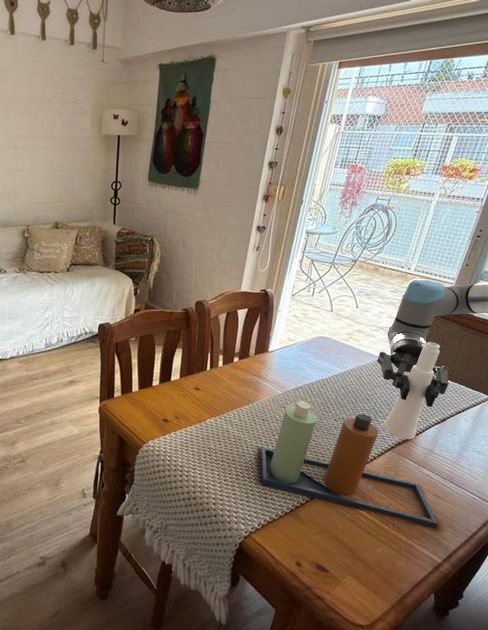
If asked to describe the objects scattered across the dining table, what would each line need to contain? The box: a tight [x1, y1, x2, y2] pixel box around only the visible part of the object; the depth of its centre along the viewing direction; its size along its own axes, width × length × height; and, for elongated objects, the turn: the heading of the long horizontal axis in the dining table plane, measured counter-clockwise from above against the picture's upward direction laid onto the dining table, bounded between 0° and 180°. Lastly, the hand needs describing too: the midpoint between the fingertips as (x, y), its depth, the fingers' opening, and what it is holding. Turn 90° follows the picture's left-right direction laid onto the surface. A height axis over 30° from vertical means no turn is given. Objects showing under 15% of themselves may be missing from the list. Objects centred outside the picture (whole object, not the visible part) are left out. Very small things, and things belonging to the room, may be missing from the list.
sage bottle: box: [270, 400, 318, 483], centre depth 95 cm, size 6×6×18 cm
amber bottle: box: [323, 412, 379, 497], centre depth 91 cm, size 6×6×18 cm
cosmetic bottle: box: [382, 341, 441, 440], centre depth 95 cm, size 6×6×22 cm
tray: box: [259, 446, 439, 528], centre depth 95 cm, size 32×11×2 cm, turn 70°
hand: (418, 397), depth 90 cm, fingers closed on cosmetic bottle, 4 cm apart
